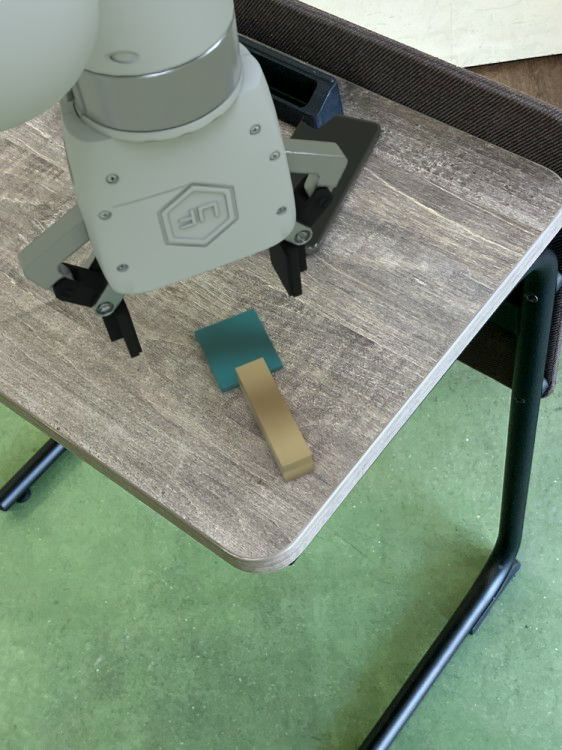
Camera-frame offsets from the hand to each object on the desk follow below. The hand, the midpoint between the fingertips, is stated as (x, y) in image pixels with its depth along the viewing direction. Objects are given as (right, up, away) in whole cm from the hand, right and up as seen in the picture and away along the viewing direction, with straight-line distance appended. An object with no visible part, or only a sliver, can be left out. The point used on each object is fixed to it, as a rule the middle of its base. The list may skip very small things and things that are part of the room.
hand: (209, 308), depth 55 cm
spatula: (+3, -5, +16) cm, 17 cm away
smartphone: (+7, +13, +28) cm, 31 cm away
